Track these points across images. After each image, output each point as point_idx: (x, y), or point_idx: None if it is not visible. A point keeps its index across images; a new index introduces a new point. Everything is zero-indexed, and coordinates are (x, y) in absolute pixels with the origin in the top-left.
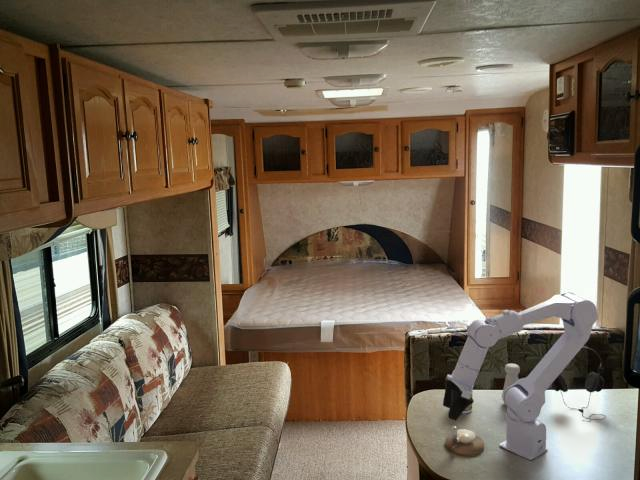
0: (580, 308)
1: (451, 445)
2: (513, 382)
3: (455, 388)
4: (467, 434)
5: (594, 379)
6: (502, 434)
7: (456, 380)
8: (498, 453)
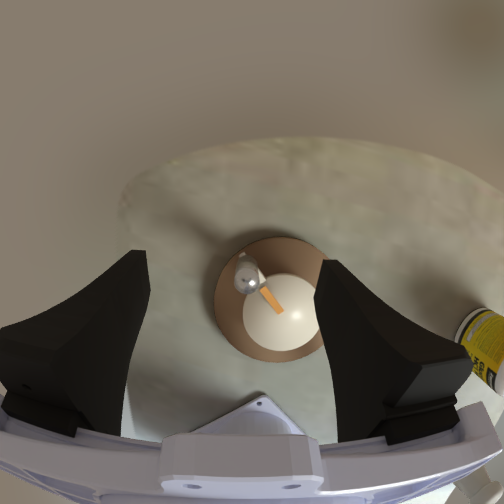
0: None
1: (258, 253)
2: (462, 483)
3: (354, 397)
4: (281, 325)
5: None
6: (328, 413)
7: (116, 496)
8: (226, 381)
